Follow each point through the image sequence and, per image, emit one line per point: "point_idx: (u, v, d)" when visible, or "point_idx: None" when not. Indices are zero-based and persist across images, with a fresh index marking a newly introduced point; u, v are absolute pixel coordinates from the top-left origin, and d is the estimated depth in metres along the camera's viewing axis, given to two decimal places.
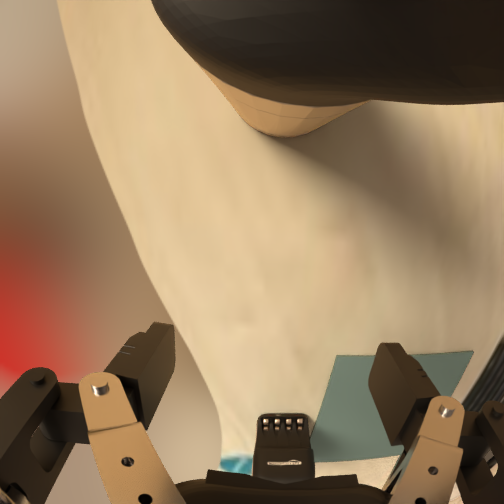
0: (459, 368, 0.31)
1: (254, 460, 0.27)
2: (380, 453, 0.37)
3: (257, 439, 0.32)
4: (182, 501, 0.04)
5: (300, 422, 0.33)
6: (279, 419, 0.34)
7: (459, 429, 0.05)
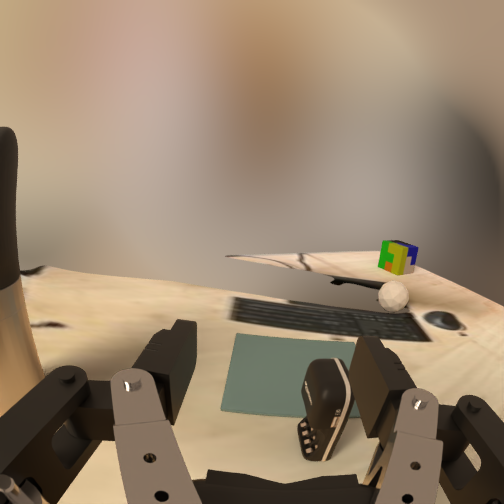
0: (250, 338, 0.53)
1: (318, 418, 0.25)
2: None
3: (322, 443, 0.26)
4: (198, 501, 0.04)
5: (304, 424, 0.32)
6: (304, 441, 0.29)
7: (431, 421, 0.06)
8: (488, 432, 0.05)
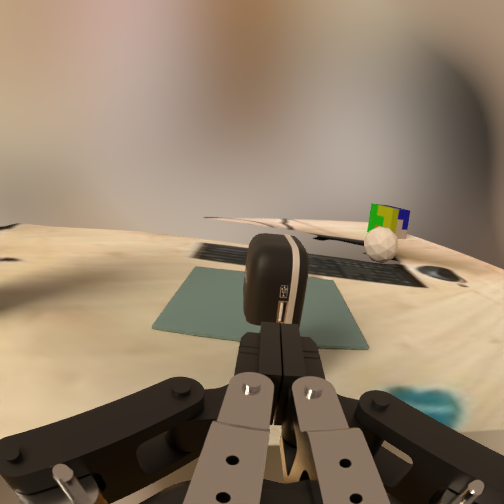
0: (210, 270, 0.47)
1: (254, 302, 0.19)
2: (333, 297, 0.41)
3: None
4: None
5: None
6: None
7: (316, 412, 0.07)
8: (408, 428, 0.06)
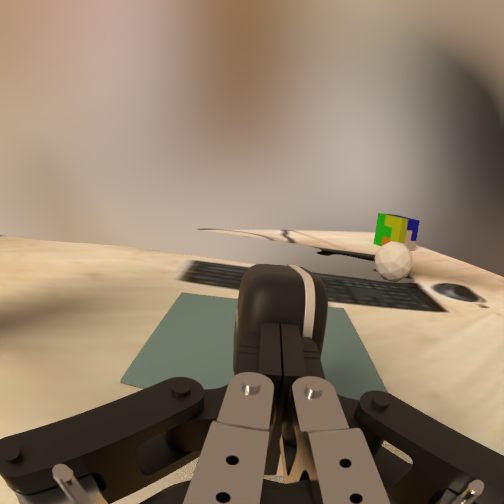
0: (198, 298, 0.39)
1: None
2: (346, 332, 0.33)
3: (271, 431, 0.13)
4: None
5: None
6: None
7: (316, 412, 0.07)
8: (408, 428, 0.06)
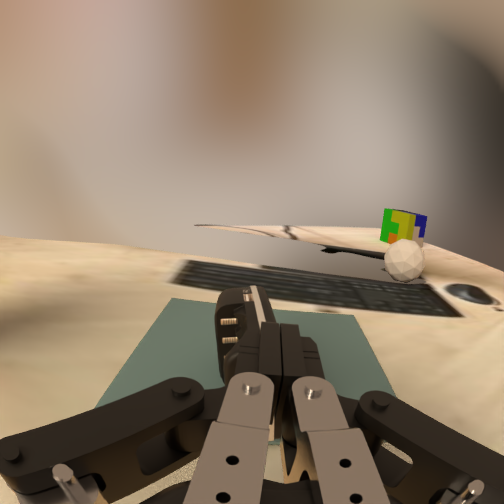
0: (190, 305, 0.34)
1: (222, 298, 0.21)
2: (358, 345, 0.28)
3: (246, 323, 0.17)
4: None
5: None
6: None
7: (316, 412, 0.07)
8: (408, 428, 0.06)
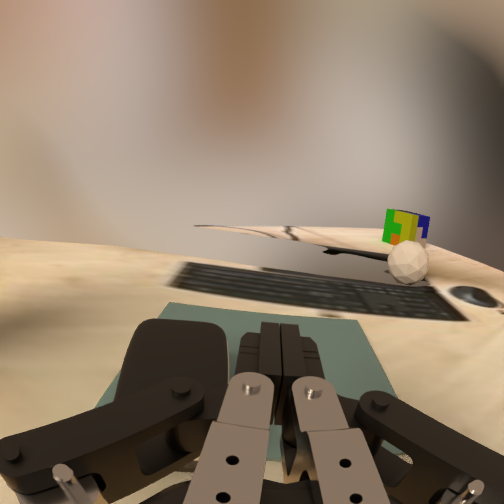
0: (188, 309, 0.33)
1: None
2: (362, 352, 0.27)
3: None
4: None
5: None
6: None
7: (316, 412, 0.07)
8: (408, 428, 0.06)
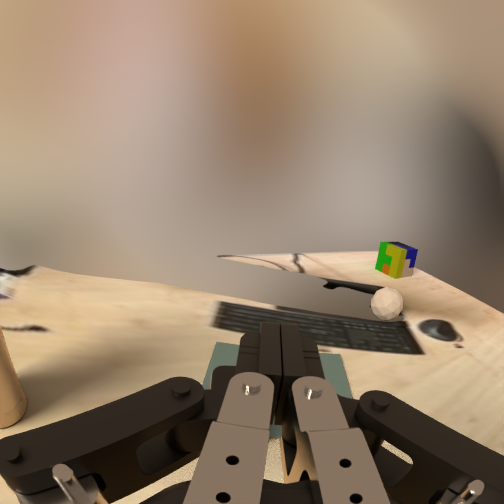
0: (230, 348, 0.50)
1: None
2: (339, 379, 0.44)
3: None
4: None
5: None
6: None
7: (316, 412, 0.07)
8: (408, 428, 0.06)
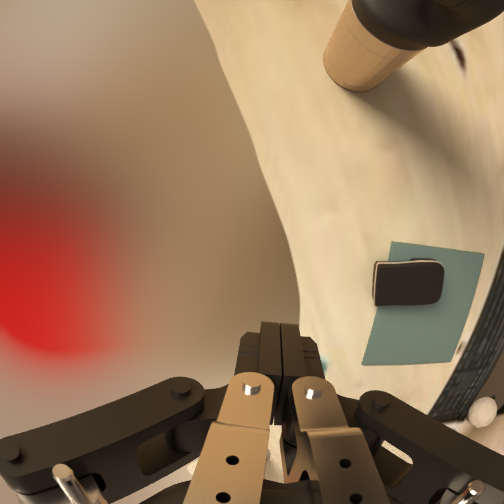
0: (476, 267, 0.42)
1: (419, 258, 0.42)
2: (424, 357, 0.47)
3: None
4: None
5: None
6: None
7: (316, 412, 0.07)
8: (408, 428, 0.06)
